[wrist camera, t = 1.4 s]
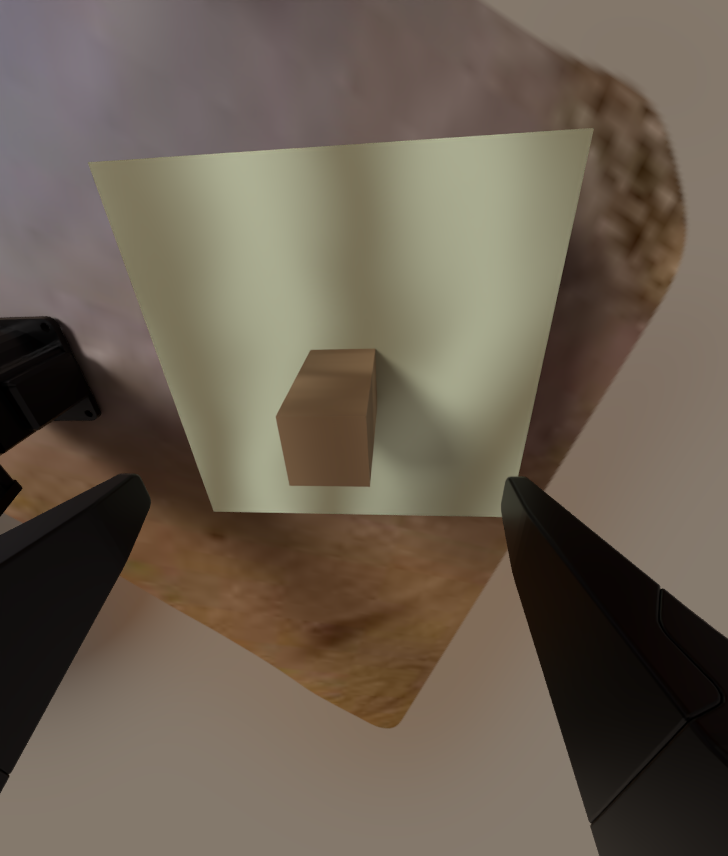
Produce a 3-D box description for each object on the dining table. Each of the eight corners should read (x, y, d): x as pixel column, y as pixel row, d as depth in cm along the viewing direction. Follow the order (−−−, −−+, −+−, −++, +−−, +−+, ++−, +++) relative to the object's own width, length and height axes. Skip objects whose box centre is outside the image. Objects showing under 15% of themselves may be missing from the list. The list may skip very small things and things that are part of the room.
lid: (218, 503, 20) (164, 598, 16) (100, 163, 12) (-82, 150, 8) (506, 508, 19) (541, 614, 14) (584, 130, 11) (723, 92, 6)
